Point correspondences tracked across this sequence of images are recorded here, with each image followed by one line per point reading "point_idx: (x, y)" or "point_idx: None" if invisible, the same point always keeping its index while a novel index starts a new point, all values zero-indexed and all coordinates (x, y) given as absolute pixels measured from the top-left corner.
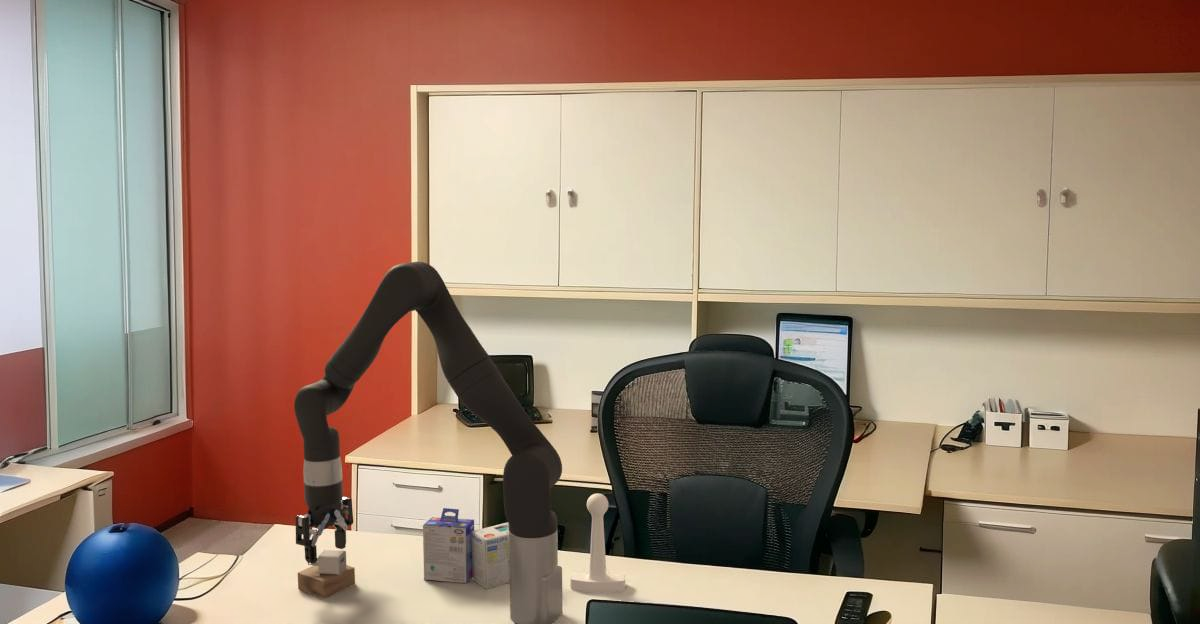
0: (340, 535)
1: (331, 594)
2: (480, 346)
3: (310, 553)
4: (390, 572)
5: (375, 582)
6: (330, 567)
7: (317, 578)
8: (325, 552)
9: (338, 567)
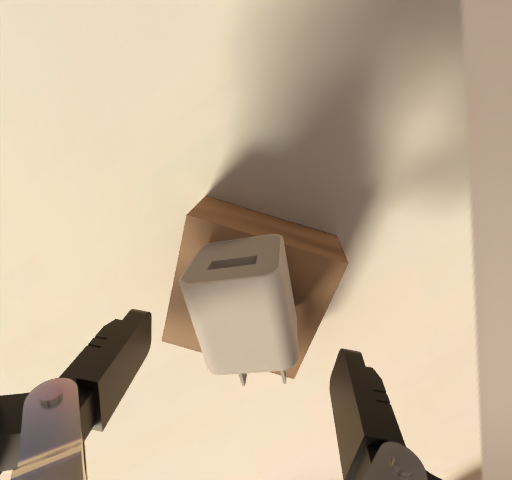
0: (112, 377)
1: (308, 227)
2: None
3: (391, 410)
4: (71, 120)
5: (167, 128)
6: (289, 283)
7: (324, 299)
8: (243, 358)
9: (283, 249)
